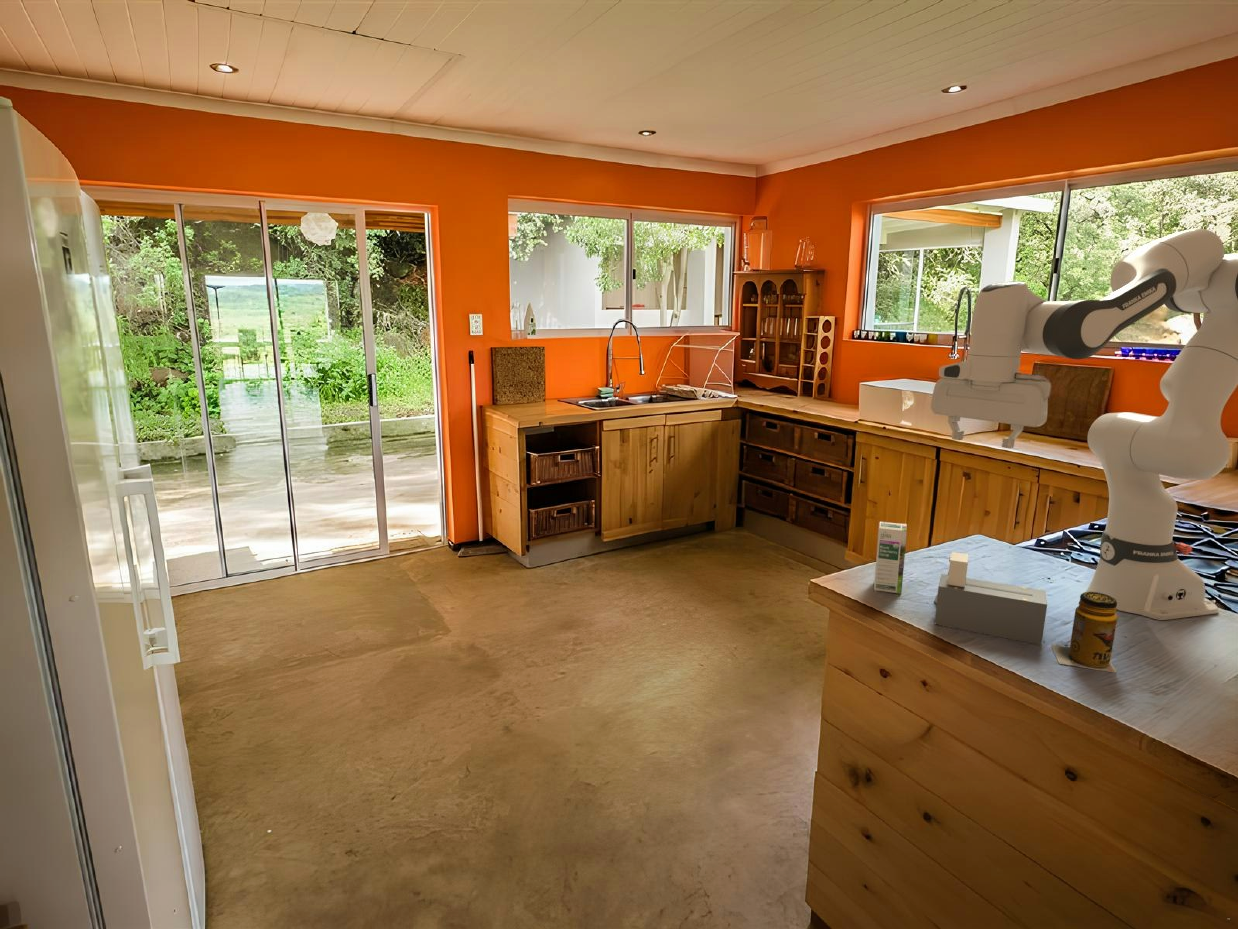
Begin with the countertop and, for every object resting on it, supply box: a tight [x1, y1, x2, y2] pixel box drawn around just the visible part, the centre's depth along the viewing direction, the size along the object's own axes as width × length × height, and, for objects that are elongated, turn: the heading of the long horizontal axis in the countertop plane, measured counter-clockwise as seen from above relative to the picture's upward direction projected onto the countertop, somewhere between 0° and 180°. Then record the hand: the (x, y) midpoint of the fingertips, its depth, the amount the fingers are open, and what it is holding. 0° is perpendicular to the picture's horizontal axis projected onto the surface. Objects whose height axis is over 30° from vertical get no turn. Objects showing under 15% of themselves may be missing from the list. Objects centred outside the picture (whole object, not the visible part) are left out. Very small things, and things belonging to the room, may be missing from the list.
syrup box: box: [873, 521, 908, 595], centre depth 151 cm, size 6×6×14 cm
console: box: [934, 573, 1048, 646], centre depth 133 cm, size 18×7×8 cm, turn 61°
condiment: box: [1051, 591, 1118, 673], centre depth 120 cm, size 7×8×12 cm
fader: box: [948, 551, 970, 587], centre depth 134 cm, size 3×5×5 cm, turn 151°
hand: (981, 443), depth 132 cm, fingers open, 8 cm apart
